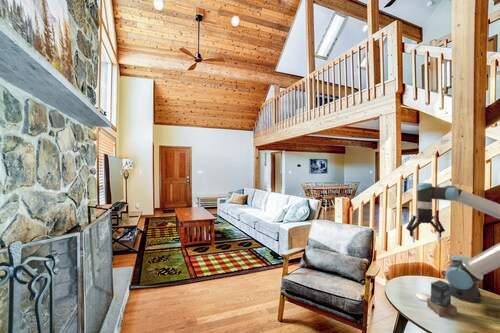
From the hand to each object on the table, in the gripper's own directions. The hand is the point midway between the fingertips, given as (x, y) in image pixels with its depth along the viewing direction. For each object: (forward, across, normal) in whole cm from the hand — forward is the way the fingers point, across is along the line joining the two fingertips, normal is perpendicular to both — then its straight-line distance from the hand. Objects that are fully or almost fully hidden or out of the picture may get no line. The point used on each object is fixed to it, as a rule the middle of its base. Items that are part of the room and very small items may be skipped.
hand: (425, 242), depth 149 cm
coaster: (+32, +3, +6) cm, 32 cm away
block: (+32, +1, +19) cm, 37 cm away
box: (+27, +1, +19) cm, 33 cm away
